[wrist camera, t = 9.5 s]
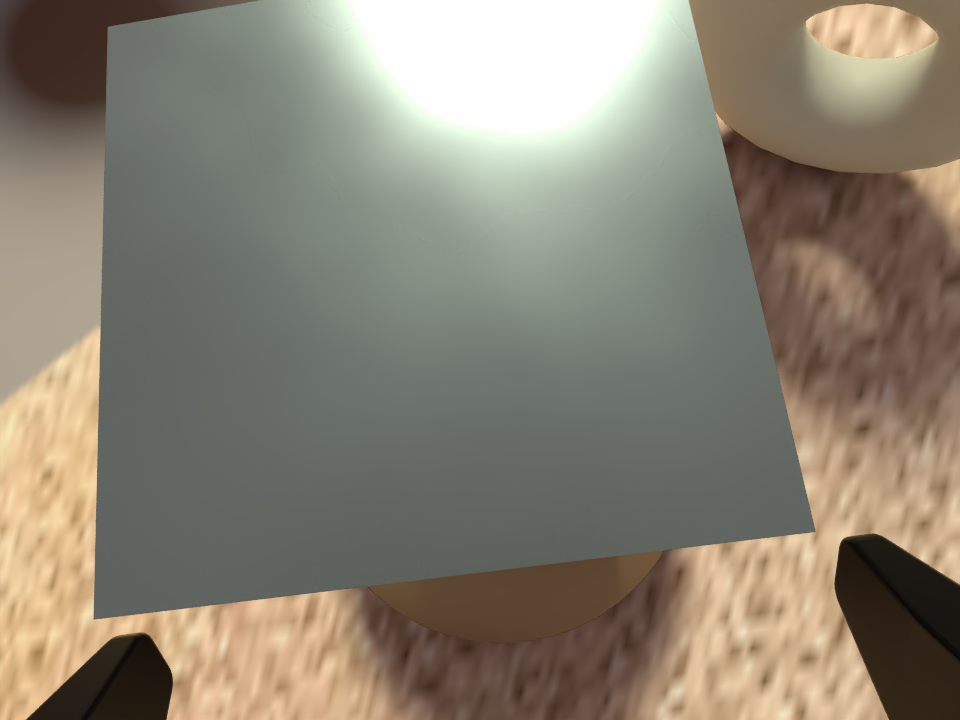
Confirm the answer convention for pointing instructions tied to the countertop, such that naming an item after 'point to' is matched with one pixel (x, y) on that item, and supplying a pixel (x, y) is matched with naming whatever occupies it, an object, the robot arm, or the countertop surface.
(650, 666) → the countertop surface
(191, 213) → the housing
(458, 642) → the countertop surface
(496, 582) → the pedestal
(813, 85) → the donut
